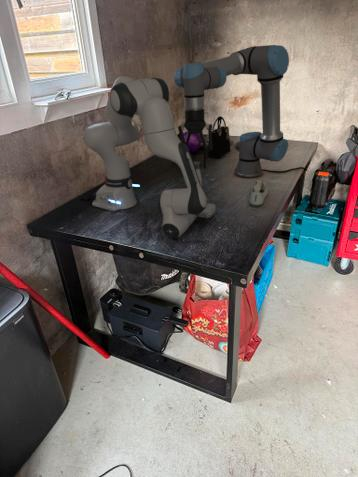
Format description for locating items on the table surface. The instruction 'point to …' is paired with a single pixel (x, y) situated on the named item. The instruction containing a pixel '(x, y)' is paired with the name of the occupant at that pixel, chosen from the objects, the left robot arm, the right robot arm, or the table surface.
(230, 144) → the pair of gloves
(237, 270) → the table surface
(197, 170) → the bottle
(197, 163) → the cap
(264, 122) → the right robot arm
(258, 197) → the ballet flat
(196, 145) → the decorative orb
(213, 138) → the handbag
